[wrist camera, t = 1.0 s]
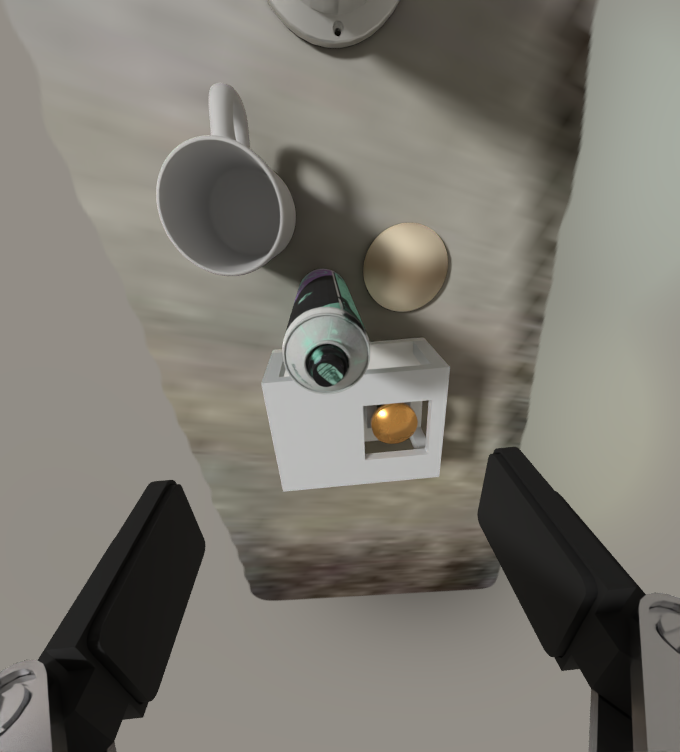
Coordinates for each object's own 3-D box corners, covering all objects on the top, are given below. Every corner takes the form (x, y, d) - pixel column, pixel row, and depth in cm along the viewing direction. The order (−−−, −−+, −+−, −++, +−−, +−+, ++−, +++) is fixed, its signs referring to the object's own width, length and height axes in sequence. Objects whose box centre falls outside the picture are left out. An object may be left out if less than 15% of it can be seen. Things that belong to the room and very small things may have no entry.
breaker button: (366, 389, 36) (371, 407, 33) (409, 385, 36) (418, 403, 33) (367, 425, 38) (372, 445, 35) (407, 421, 39) (416, 441, 35)
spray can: (305, 261, 33) (289, 311, 15) (354, 277, 34) (394, 341, 16) (292, 310, 35) (266, 405, 17) (339, 324, 36) (359, 426, 18)
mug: (296, 262, 33) (287, 280, 23) (213, 258, 32) (167, 275, 22) (295, 118, 28) (282, 62, 18) (195, 110, 27) (124, 48, 17)
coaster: (361, 226, 32) (362, 226, 31) (449, 219, 32) (451, 219, 31) (364, 313, 36) (365, 314, 35) (442, 306, 36) (444, 308, 35)
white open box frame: (273, 349, 37) (261, 383, 30) (423, 337, 38) (450, 367, 30) (289, 443, 43) (283, 491, 36) (418, 432, 44) (439, 476, 36)
